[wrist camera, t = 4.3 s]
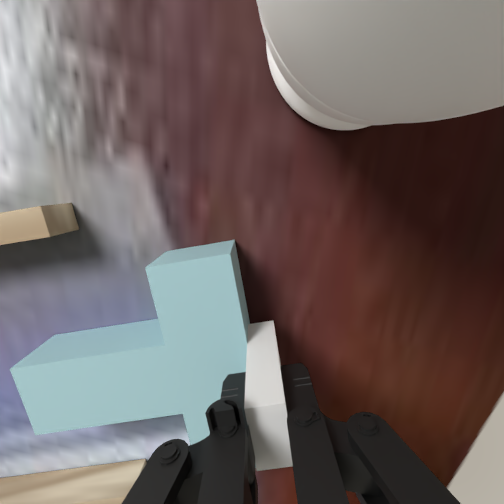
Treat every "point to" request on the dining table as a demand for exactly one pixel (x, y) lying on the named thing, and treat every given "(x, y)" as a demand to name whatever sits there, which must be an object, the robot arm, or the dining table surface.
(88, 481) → the dock
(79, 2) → the dining table surface
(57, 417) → the t block
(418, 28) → the jar
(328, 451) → the robot arm
